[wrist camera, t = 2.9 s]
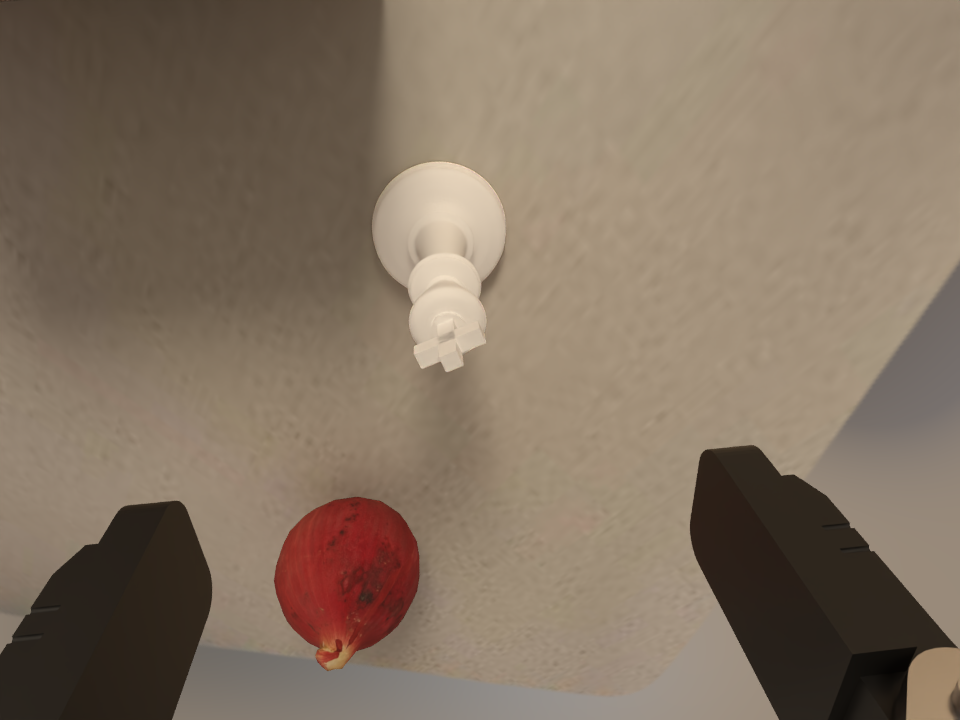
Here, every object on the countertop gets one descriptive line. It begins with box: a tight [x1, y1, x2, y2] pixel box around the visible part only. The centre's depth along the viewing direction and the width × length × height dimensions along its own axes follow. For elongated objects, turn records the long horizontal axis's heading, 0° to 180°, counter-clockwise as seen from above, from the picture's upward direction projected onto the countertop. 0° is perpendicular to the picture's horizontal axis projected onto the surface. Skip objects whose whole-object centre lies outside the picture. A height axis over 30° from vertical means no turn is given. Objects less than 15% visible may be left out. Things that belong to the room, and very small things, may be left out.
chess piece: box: [372, 162, 506, 373], centre depth 18 cm, size 5×5×10 cm
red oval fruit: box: [274, 497, 419, 671], centre depth 25 cm, size 6×6×8 cm
